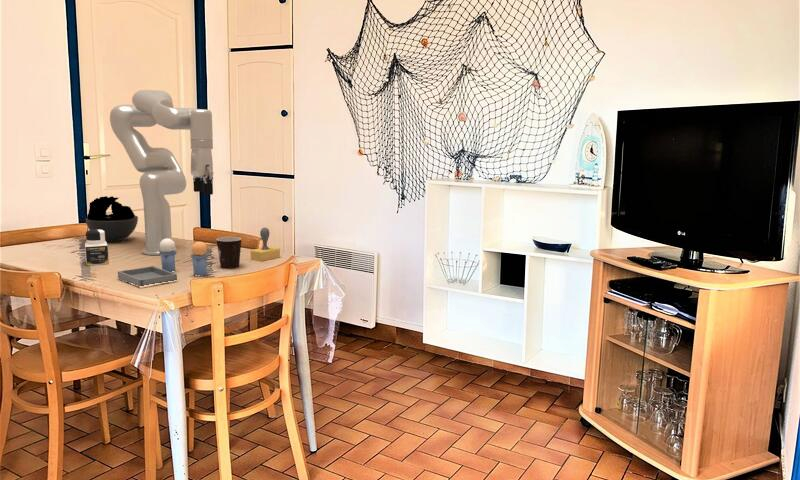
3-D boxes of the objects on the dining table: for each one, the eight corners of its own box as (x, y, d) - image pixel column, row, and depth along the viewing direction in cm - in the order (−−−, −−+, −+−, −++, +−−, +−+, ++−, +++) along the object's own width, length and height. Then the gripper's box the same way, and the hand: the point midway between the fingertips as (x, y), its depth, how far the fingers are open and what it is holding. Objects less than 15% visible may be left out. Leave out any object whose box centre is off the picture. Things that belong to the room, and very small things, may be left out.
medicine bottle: (86, 265, 226) (84, 232, 224) (86, 261, 233) (83, 229, 230) (108, 264, 230) (106, 231, 227) (107, 260, 236) (105, 227, 234)
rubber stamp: (260, 262, 238) (260, 230, 236) (250, 259, 241) (249, 228, 239) (280, 257, 246) (279, 226, 244) (269, 255, 249) (269, 225, 247)
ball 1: (157, 252, 219) (156, 238, 218) (171, 250, 223) (170, 236, 222) (164, 255, 216) (163, 240, 215) (178, 253, 219) (177, 238, 219)
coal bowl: (102, 236, 282) (99, 193, 278) (147, 237, 281) (144, 194, 278) (77, 245, 262) (74, 199, 259) (126, 246, 261) (123, 200, 258)
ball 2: (188, 256, 215) (188, 241, 214) (202, 254, 218) (201, 239, 217) (196, 258, 211) (196, 243, 211) (210, 256, 215) (209, 241, 214)
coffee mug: (219, 264, 233) (218, 236, 231) (244, 264, 234) (243, 236, 232) (213, 271, 221) (212, 242, 220) (238, 271, 222) (238, 243, 220)
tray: (118, 279, 209) (117, 271, 208) (153, 273, 218) (152, 265, 217) (140, 288, 198) (140, 280, 198) (177, 281, 207) (176, 274, 206)
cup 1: (159, 271, 220) (158, 251, 219) (171, 269, 224) (170, 249, 222) (165, 273, 217) (164, 253, 216) (177, 271, 221) (176, 251, 219)
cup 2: (190, 274, 216) (190, 254, 215) (202, 272, 219) (202, 252, 218) (197, 277, 213) (197, 256, 212) (209, 275, 216) (208, 254, 215)
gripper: (182, 143, 232) (184, 190, 235) (200, 146, 218) (201, 196, 222) (203, 143, 236) (204, 190, 240) (221, 146, 223) (222, 195, 226)
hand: (203, 193), depth 231 cm, fingers open, 9 cm apart
